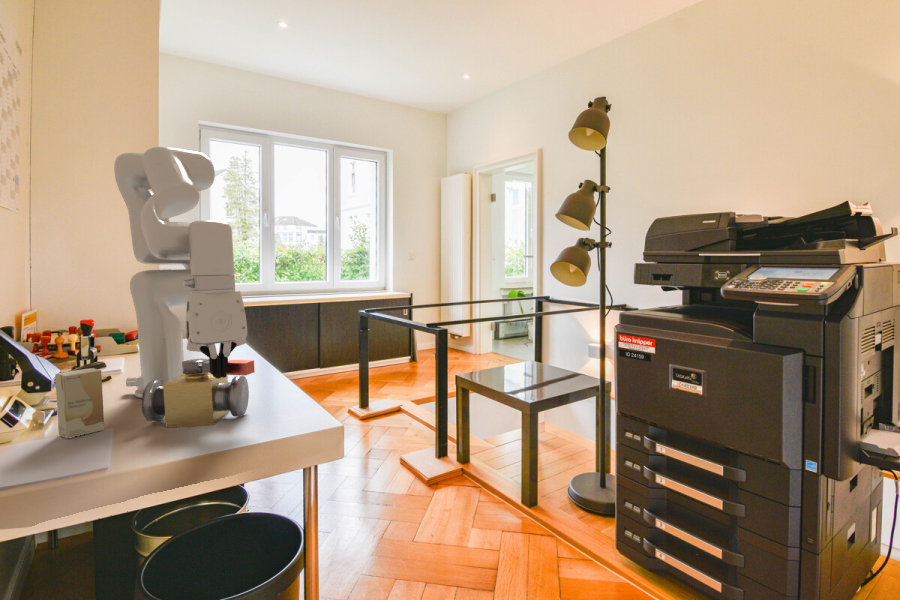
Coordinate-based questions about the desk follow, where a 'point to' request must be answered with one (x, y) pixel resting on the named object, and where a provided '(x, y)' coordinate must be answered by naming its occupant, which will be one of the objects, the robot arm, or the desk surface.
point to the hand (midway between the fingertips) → (219, 376)
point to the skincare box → (79, 402)
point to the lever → (203, 367)
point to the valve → (194, 399)
